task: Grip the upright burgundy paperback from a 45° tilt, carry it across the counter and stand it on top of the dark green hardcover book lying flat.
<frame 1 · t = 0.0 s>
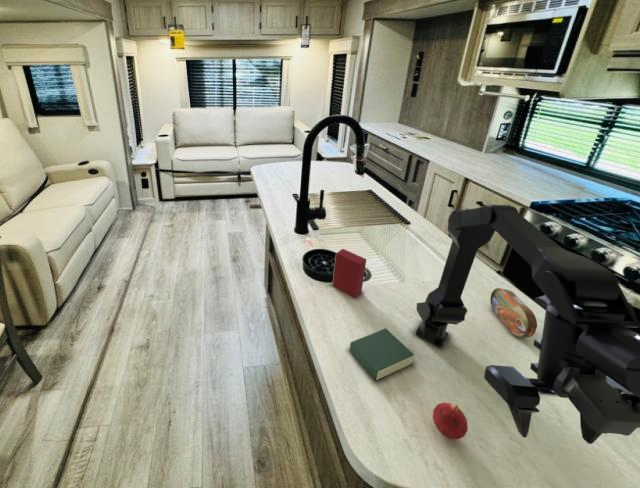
hand: (554, 438, 49), 15 cm above the counter, tool pointing down, fingers open, 9 cm apart
paperback: (346, 288, 104), on the counter
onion: (445, 432, 64), on the counter
tin: (507, 323, 90), on the counter
hardcover: (379, 356, 80), on the counter
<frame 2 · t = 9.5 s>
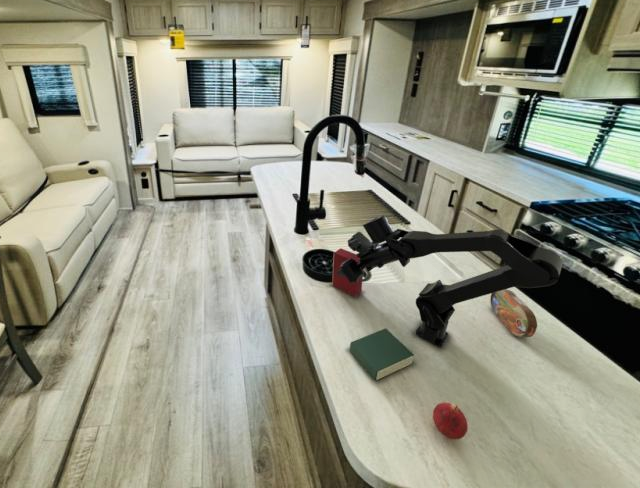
hand: (344, 267, 103), 8 cm above the counter, tool tilted 45°, fingers closed on paperback, 8 cm apart
paperback: (346, 288, 104), on the counter, touching gripper
everything else where it was.
when the fingers open (11 cm above the counter, at t = 19.7 s): paperback stays where it is, resting on hardcover.
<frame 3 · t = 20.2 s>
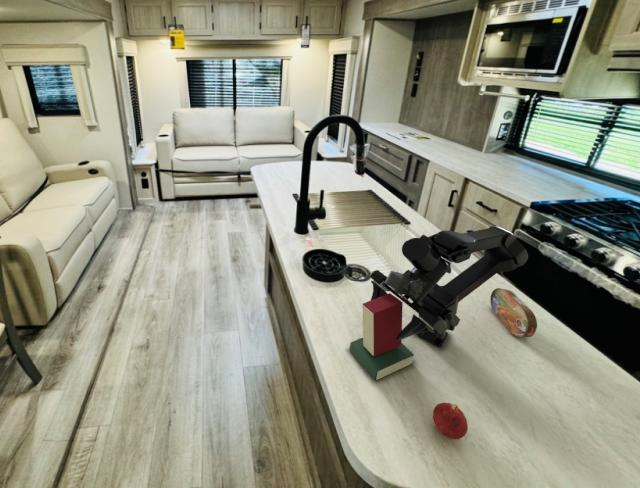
hand: (381, 325, 76), 11 cm above the counter, tool tilted 45°, fingers open, 9 cm apart
paperback: (382, 345, 79), point 4 cm above the counter, tilted 8°, touching gripper, hardcover
hardcover: (379, 356, 80), on the counter, touching paperback
everything else where it was.
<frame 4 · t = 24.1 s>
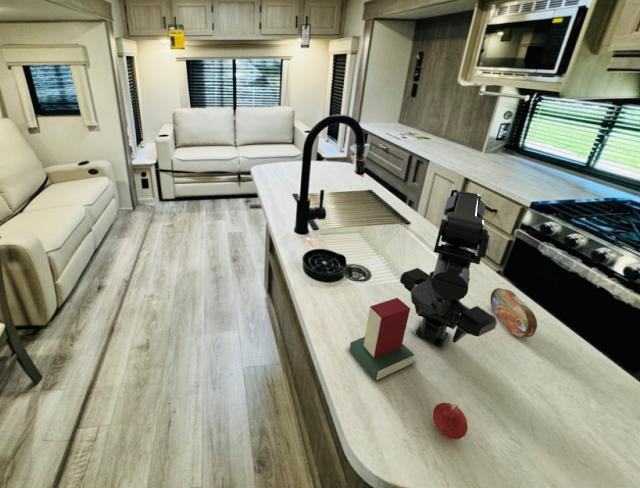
hand: (435, 327, 72), 13 cm above the counter, tool pointing down, fingers open, 9 cm apart
paperback: (382, 347, 79), point 3 cm above the counter, touching hardcover
everything else where it was.
at the end: paperback inside the target area on the hardcover (0.4 cm from its centre), point 3.0 cm above the hardcover's base; paperback tilted 0°; hardcover moved 0.0 cm from its start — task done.
